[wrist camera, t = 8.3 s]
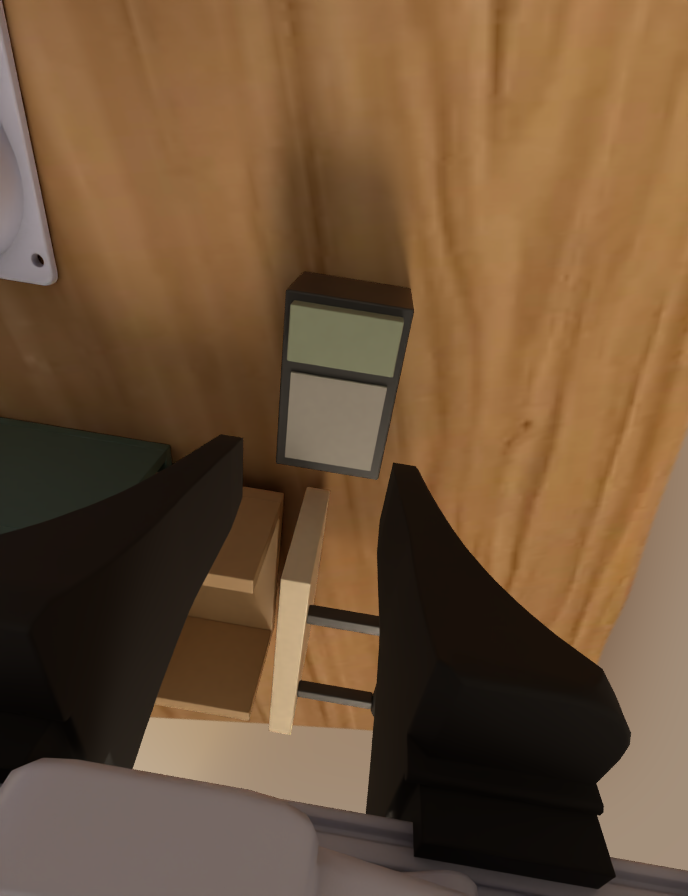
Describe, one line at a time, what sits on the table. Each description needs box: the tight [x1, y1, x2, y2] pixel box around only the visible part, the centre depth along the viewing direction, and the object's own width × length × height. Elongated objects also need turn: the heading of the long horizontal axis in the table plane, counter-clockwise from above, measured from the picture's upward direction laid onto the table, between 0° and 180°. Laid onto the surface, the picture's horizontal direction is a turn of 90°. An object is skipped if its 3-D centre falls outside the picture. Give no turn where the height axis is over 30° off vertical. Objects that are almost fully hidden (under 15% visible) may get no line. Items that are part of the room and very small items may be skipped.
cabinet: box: [0, 417, 172, 534], centre depth 23 cm, size 14×13×8 cm
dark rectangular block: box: [276, 272, 414, 480], centre depth 18 cm, size 4×7×4 cm, turn 172°
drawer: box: [155, 472, 380, 735], centre depth 23 cm, size 19×12×6 cm, turn 82°
